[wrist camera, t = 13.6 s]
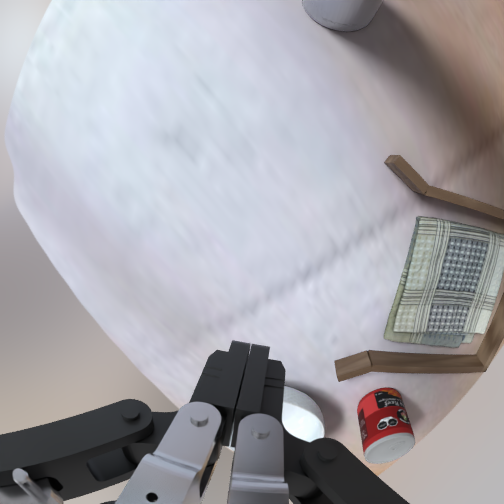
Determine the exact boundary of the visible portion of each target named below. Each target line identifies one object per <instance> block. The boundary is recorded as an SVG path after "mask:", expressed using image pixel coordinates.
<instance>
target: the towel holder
mask: <svg viewBox="0 0 504 504" xmlns="http://www.w3.org/2000/svg"><path fill="white" fill-rule="evenodd" d="M384 163H385V164H386V165H387V166H388V167H389V168H390V169H391V170H392V171H393V172H395V173H396V174H397V175H398V176H399V177H400V178H401V179H402V180H403V181H404V182H405V183H406V185H407V186H408V187H409V188H410V189H411V190H412V191H414V192H417V193H420V194H423V195H426V196H430V197H433V198H437V199H440V200H444V201H447V202H451V203H454V204H458V205H461V206H464V207H467V208H470V209H474V210H477V211H480V212H483V213H486V214H489V215H492V216H495V217H497V218H500V219H503V220H504V210H502V209H499V208H497V207H494V206H491V205H488V204H486V203H483V202H480V201H477V200H474V199H471V198H468V197H465V196H462V195H459V194H456V193H453V192H449V191H446V190H443V189H440V188H436V187H433V186H429V185H428V184H427V183H426V182H425V181H424V179H423V178H422V177H421V176H420V175H419V174H418V173H417V172H416V171H415V170H414V169H413V168H412V167H411V166H410V165H409V164H408V163H407V162H406V161H405V160H404V159H403V158H402V157H401V156H400V155H390V156H389V157H388V158H387V160H386V161H385V162H384ZM503 338H504V293H503V296H502V299H501V301H500V304H499V306H498V309H497V311H496V313H495V316H494V318H493V320H492V323H491V325H490V327H489V329H488V331H487V334H486V336H485V338H484V340H483V342H482V344H481V346H480V348H479V350H478V352H477V354H476V355H444V354H417V353H399V352H385V351H372V350H369V351H368V353H367V351H364V352H361V353H358V354H355V355H352V356H349V357H345V358H342V359H339V360H336V361H335V368H336V374H337V378H338V381H339V382H340V381H343V380H347V379H350V378H353V377H356V376H359V375H363V374H366V373H369V372H371V371H372V372H390V373H473V372H486V370H487V368H488V366H489V365H490V363H491V361H492V359H493V357H494V356H495V354H496V352H497V350H498V348H499V346H500V344H501V342H502V340H503Z"/></svg>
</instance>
